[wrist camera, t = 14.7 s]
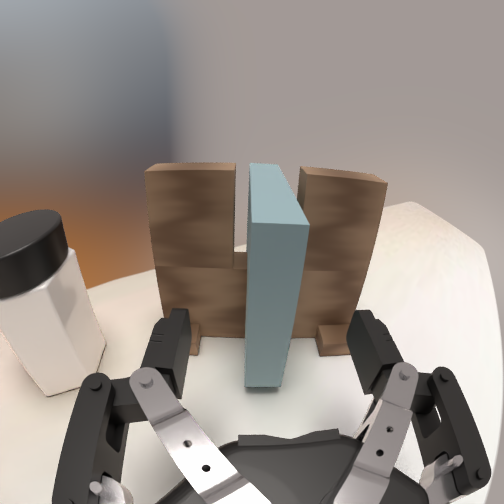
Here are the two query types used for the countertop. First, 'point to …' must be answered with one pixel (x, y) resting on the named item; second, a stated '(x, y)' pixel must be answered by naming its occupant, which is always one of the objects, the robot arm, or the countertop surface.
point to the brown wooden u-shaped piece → (235, 263)
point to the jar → (46, 303)
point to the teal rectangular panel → (271, 273)
